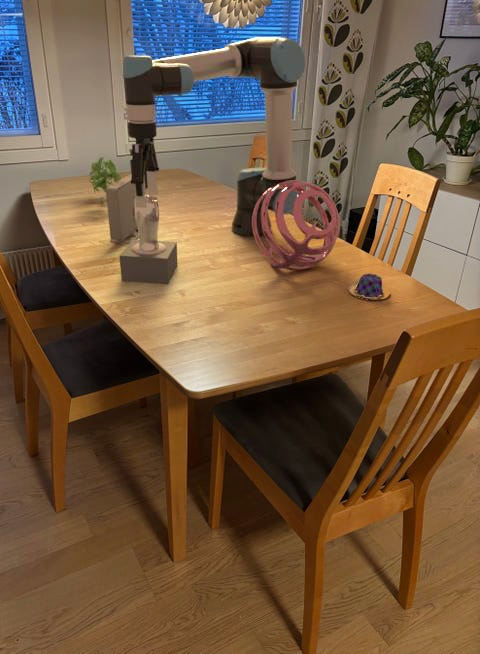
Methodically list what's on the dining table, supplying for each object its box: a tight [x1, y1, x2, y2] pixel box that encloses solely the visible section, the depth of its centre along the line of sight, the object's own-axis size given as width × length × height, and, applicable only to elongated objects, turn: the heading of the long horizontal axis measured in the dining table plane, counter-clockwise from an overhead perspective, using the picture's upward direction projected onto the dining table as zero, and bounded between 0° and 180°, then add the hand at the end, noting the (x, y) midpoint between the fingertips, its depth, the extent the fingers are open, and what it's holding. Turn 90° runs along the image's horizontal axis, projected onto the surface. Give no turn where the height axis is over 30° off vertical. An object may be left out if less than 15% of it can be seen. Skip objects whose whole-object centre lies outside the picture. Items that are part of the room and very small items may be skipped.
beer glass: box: [135, 195, 160, 252], centre depth 149 cm, size 7×7×15 cm
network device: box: [105, 173, 147, 245], centre depth 183 cm, size 26×9×20 cm, turn 168°
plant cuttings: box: [88, 156, 122, 205], centre depth 220 cm, size 35×17×22 cm
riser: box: [119, 239, 178, 285], centre depth 156 cm, size 14×14×8 cm
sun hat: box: [348, 273, 384, 301], centre depth 149 cm, size 12×12×5 cm
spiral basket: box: [252, 179, 341, 272], centre depth 162 cm, size 28×28×27 cm
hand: (147, 200), depth 147 cm, fingers open, 13 cm apart
